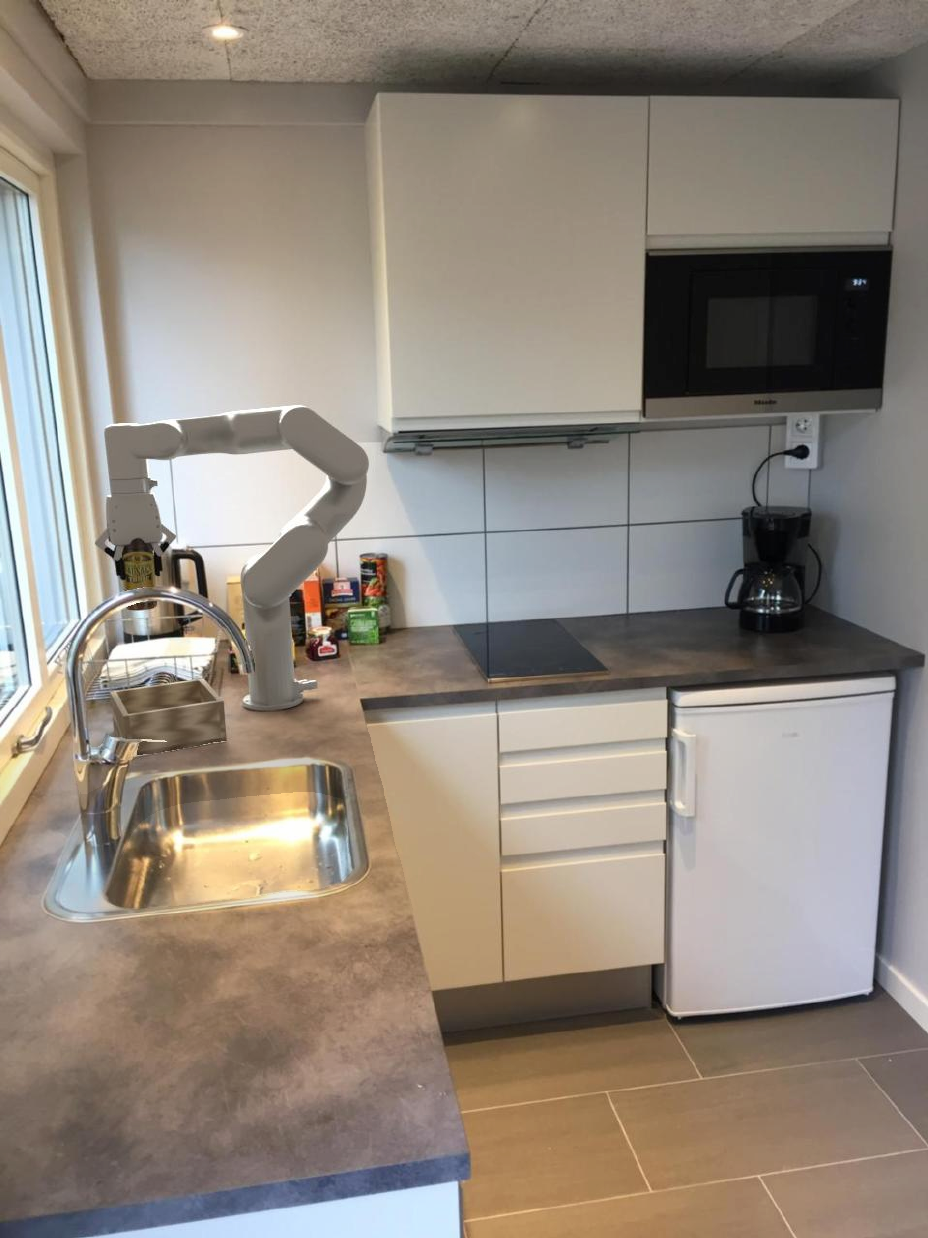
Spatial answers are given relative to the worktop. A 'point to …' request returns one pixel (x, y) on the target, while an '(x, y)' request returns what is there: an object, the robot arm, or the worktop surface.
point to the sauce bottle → (139, 570)
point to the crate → (169, 715)
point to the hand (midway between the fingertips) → (139, 576)
